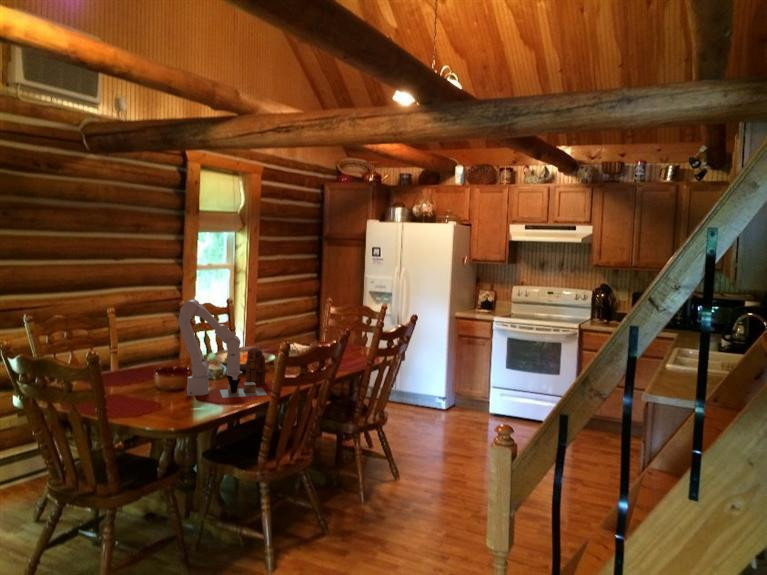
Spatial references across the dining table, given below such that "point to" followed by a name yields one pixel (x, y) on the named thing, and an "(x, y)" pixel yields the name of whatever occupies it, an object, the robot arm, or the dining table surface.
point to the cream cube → (230, 390)
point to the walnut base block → (249, 387)
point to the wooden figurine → (255, 366)
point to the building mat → (241, 393)
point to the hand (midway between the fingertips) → (233, 391)
